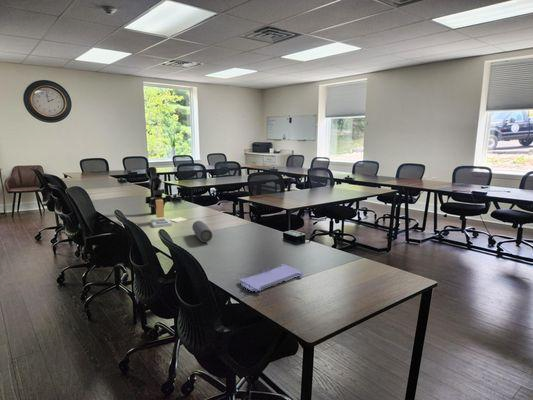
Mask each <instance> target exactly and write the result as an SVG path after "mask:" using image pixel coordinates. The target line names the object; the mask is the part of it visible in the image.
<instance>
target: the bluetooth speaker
mask: <svg viewBox="0 0 533 400" xmlns="http://www.w3.org/2000/svg"><path fill="white" fill-rule="evenodd" d="M191 228H192V231H193V233H194V234H195V236H196V237H197V239H199V241H201V242H202V243H208V242H210V241H211V240H212V238H213V231H212V230H211V229H210V228H209V226H208V225H207V224H205V222H204V221H201V220H196V221H195V222H193V224H192V227H191Z"/></svg>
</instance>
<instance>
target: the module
mask: <svg viewBox="0 0 533 400" xmlns="http://www.w3.org/2000/svg"><path fill="white" fill-rule="evenodd" d="M155 202H156V208H157V209H156V214H155V216H156V219H158V218H165V205H163V200H162V199H158V200H155Z"/></svg>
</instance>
